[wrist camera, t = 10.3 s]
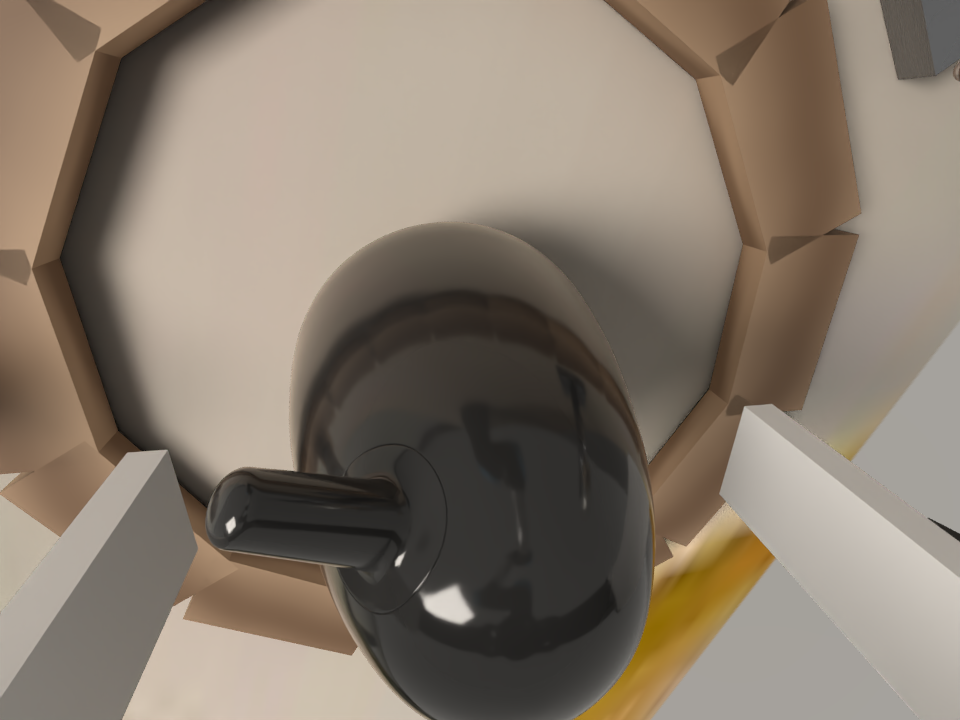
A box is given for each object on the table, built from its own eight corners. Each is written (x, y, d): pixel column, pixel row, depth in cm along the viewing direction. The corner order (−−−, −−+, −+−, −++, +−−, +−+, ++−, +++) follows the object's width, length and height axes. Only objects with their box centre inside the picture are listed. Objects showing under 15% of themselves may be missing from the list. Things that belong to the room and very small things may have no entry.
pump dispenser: (409, 141, 18) (484, 171, 4) (603, 307, 22) (969, 606, 8) (257, 354, 20) (-24, 834, 6) (458, 469, 24) (549, 916, 10)
